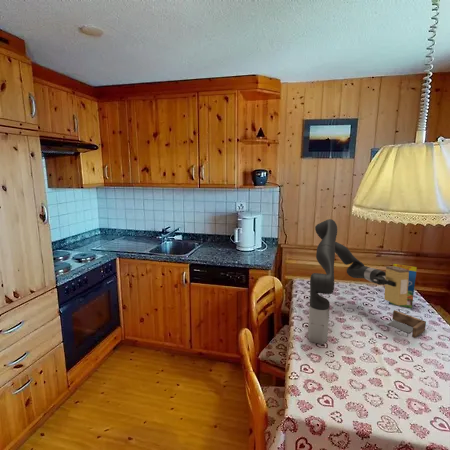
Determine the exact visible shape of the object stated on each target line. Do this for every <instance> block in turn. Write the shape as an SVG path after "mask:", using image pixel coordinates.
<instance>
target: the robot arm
mask: <svg viewBox="0 0 450 450" xmlns="http://www.w3.org/2000/svg"><path fill="white" fill-rule="evenodd" d="M314 230H315V233H316V234H317V236H318V238H319V239H321V240H320V242H319V243H318V245H317V248H316V253H315V257H316V261H317V263H318V264H319V265H320V267H321V268H322V269H323V270H324V272H325V273H321V272H320V273H318V272H313V273H311V274H310V279H309V291H310V292H309V307H308V308H309V309H308V327H307V330H308V331H307V339H308V341H309V342H310V343H315V344H318V345H323V344H325V343H327V342H328V334H329V319H330V306H331V305H330V303H331V302H330V300H329V299H327V298H326V297H324V296H322V295H321V294H323V295H332V294H333V292H334V290H335V259H336V255H337V257H338V258H339V259H340V261H341V262H342V263H343V264H344V265H346V266H348V265H349V266H348V267H347V269H346V274H347V275H348V276H349V277H351V278H354V279H364V280H367V281H368V282H370V283H373V284H376V285H383V286H385V284H386V285H390V286H393V287H395V282H393V281H390V280H388V279H386V271H384V270H381V269H377V268H374V267H370V266H366V265H365V264H364V263H363V262H362V261H360V260H359V259H358V258H356V257H355V256H354V255H353V253H352V251H350V250H349V248H348V247H346V246H345V245H344V244H341V243H339V242H337V241H336V240H337V235H338V225H337V223H336V221H335V220H333V219H331V218H330V219H329V218H328V219H325V220H324V221H322V222H319V223H318V224H316V225H315V228H314Z"/></svg>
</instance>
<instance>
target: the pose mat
mask: <svg viewBox="0 0 450 450" xmlns="http://www.w3.org/2000/svg"><path fill="white" fill-rule="evenodd" d="M387 326H389V327H393V328H395V329H397V330H400V331H401V332H404V333H407V334H411V333H412V332H413V327H411V326H408V325H406V324H403V323H401V322H398V321H395V320H393V319H392V321H390V322H388V323H387Z"/></svg>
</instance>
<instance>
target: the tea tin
mask: <svg viewBox="0 0 450 450" xmlns="http://www.w3.org/2000/svg"><path fill="white" fill-rule="evenodd" d="M385 273H386V279H388V280H390V281H393V282H395V287H393V286H390V285H386V284H385V285H384V299H383V300H385V301H387V302H388V303H389V302H392V303H394V304H396V305H395V306H397V305H407V294H408V278H409V270H407V269H403V268H399V267H396V266H392V265H391V266H385Z"/></svg>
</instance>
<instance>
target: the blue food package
mask: <svg viewBox="0 0 450 450" xmlns="http://www.w3.org/2000/svg"><path fill="white" fill-rule="evenodd" d="M393 266H396V267H399V268H403V269H407V270H409V278H408V294H407V305H396V304H394V303H392V302H389V301H388V304H389V305H393V306H399V307H402V308H406V309H413V304H414V303H413V302H414V294H415V293H414V292H415V287H416V286H415V285H416V277H417V270H418V267H417V266H410V265H404V264H398V263H393Z"/></svg>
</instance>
